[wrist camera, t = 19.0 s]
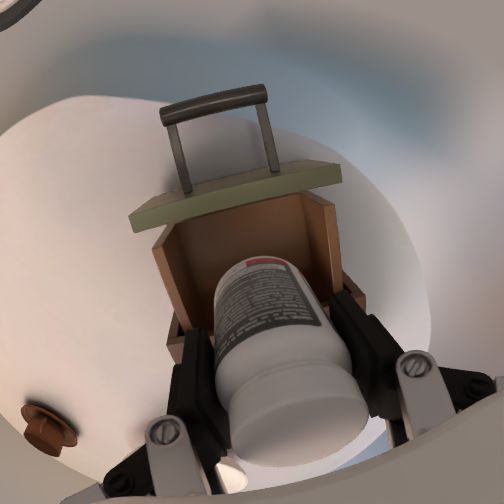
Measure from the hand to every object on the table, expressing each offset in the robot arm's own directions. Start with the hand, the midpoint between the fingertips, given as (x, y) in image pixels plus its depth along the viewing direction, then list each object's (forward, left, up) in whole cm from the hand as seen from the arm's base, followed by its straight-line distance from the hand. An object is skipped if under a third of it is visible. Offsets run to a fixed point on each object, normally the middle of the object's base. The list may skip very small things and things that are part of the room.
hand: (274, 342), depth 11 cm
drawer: (-1, 0, -15) cm, 15 cm away
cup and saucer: (+42, -24, -16) cm, 51 cm away
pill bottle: (0, 0, -4) cm, 4 cm away
